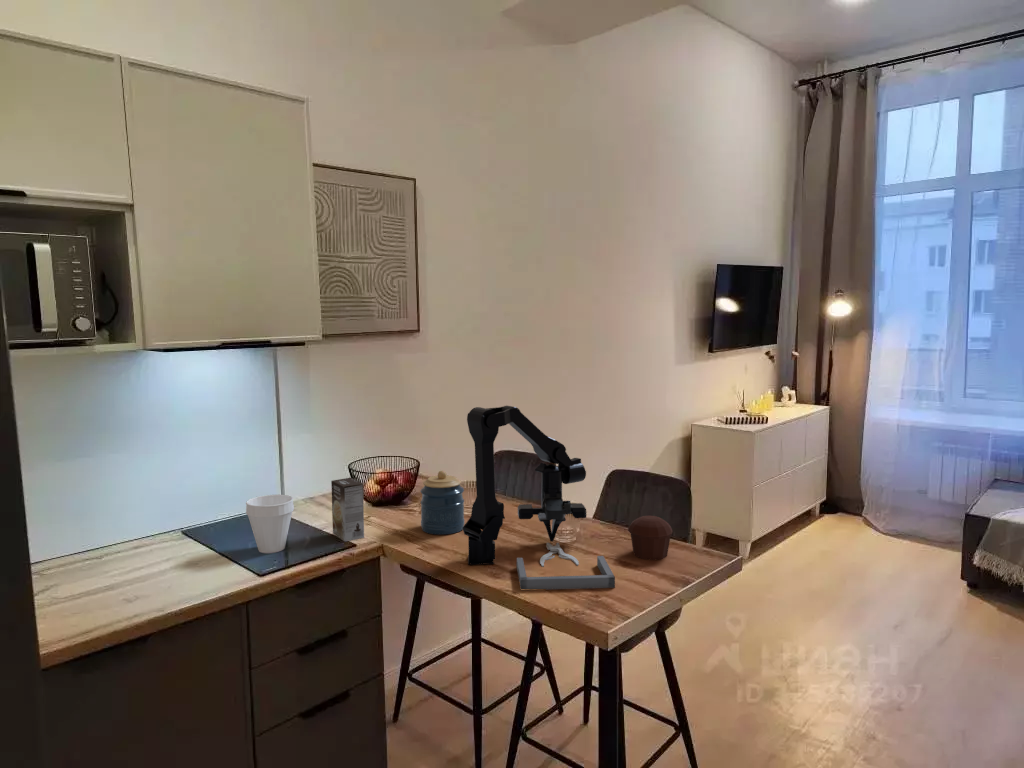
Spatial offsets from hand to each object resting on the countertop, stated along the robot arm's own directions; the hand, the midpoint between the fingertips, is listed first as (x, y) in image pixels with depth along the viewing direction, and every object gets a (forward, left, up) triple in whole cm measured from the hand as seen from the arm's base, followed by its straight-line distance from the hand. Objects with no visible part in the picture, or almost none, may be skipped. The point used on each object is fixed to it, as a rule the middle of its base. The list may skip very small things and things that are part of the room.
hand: (551, 541), depth 192 cm
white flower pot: (-77, 0, -1) cm, 77 cm away
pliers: (0, -11, -1) cm, 11 cm away
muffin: (+25, -11, -1) cm, 27 cm away
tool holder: (0, -25, 0) cm, 25 cm away
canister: (-31, +15, -1) cm, 34 cm away
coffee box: (-58, +10, -1) cm, 59 cm away
